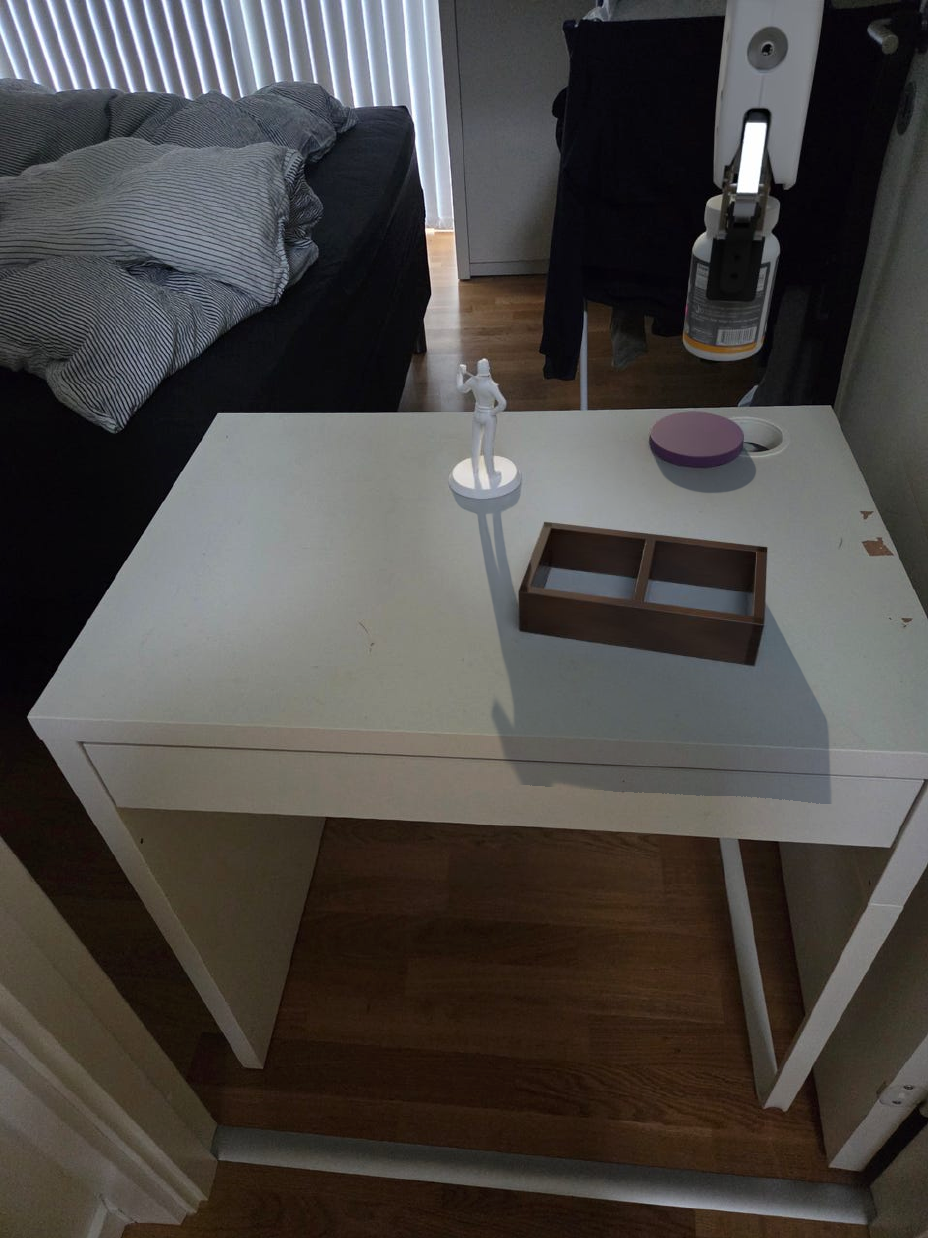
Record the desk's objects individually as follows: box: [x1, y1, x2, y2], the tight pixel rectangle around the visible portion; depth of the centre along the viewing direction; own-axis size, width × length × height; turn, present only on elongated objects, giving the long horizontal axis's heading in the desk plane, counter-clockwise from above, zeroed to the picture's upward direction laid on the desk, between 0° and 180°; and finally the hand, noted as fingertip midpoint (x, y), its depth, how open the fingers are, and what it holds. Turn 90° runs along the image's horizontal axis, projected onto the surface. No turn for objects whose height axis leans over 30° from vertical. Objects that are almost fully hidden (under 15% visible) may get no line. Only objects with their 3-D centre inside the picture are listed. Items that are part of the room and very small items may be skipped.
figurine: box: [448, 358, 523, 500], centre depth 77 cm, size 7×7×12 cm
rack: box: [517, 521, 769, 667], centre depth 64 cm, size 17×9×4 cm, turn 74°
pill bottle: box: [682, 193, 781, 362], centre depth 58 cm, size 6×6×10 cm
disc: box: [648, 410, 745, 468], centre depth 83 cm, size 9×9×1 cm
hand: (732, 278), depth 58 cm, fingers closed on pill bottle, 5 cm apart
